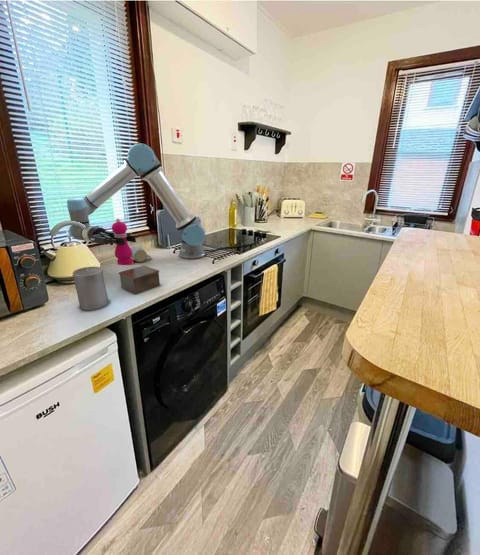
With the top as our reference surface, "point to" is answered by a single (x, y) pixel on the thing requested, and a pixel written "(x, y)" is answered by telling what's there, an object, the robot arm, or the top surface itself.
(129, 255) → the pepper mill
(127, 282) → the block
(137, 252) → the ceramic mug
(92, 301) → the pillar candle
